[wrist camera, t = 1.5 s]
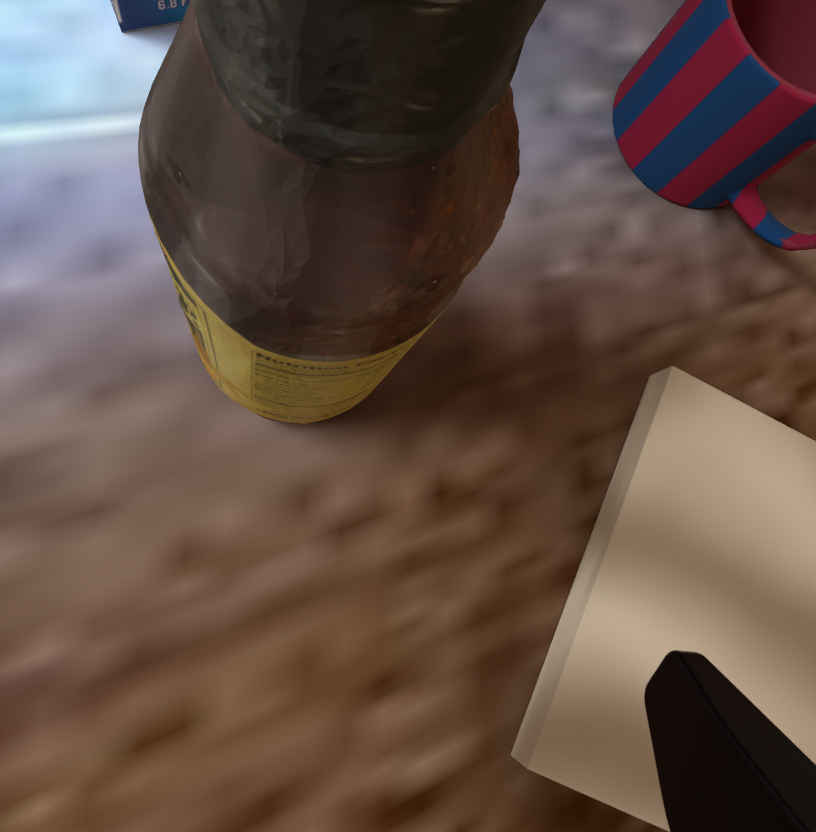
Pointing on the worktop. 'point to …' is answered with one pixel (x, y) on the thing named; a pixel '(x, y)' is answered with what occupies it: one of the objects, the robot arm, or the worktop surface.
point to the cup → (723, 106)
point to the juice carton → (148, 13)
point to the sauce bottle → (328, 182)
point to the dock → (682, 590)
